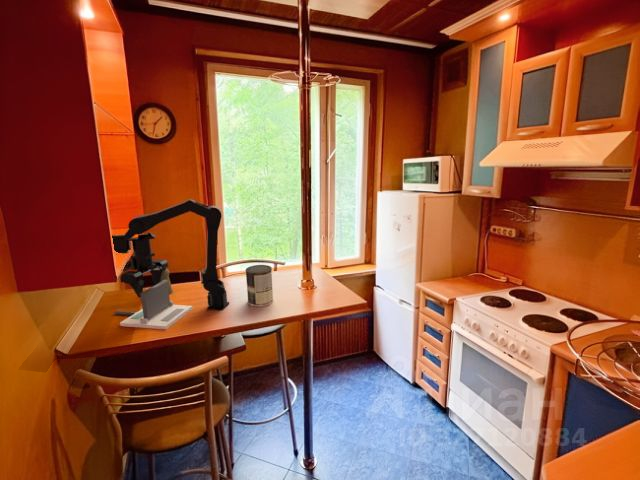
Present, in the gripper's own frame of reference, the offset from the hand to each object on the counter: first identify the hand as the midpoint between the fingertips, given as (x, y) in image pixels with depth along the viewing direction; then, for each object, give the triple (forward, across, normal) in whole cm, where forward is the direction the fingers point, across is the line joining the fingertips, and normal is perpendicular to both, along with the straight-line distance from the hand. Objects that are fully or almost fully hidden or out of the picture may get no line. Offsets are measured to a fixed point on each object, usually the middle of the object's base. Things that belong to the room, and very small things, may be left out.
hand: (148, 292), depth 126 cm
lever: (+7, 0, +3) cm, 8 cm away
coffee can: (+10, -19, +36) cm, 42 cm away
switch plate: (+9, 0, -2) cm, 10 cm away
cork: (+10, -22, -9) cm, 26 cm away
